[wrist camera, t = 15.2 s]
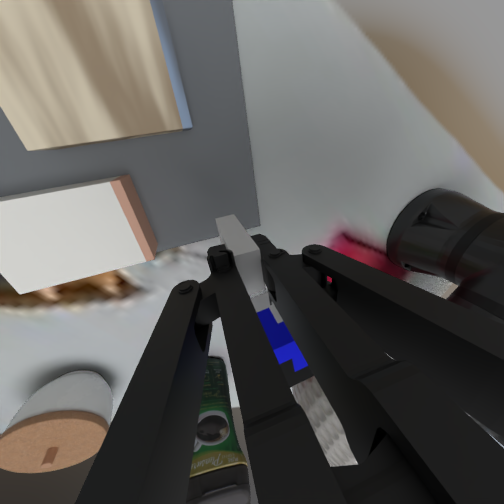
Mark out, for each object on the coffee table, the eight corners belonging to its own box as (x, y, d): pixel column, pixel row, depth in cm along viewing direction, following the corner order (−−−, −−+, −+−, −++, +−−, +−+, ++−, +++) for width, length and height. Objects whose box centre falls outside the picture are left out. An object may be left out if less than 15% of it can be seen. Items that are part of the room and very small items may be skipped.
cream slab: (119, 180, 18) (-56, 211, 15) (154, 259, 21) (19, 294, 19) (129, 174, 21) (-13, 199, 19) (157, 243, 25) (43, 271, 22)
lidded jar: (36, 357, 27) (-23, 445, 19) (128, 359, 32) (111, 431, 24) (29, 409, 30) (-24, 502, 22) (113, 404, 35) (94, 480, 27)
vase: (262, 364, 43) (328, 538, 24) (322, 313, 41) (442, 455, 22) (300, 384, 51) (371, 523, 32) (351, 342, 50) (457, 463, 31)
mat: (230, 0, 18) (231, -3, 18) (259, 224, 28) (260, 225, 28) (-177, 9, 13) (-187, 6, 12) (41, 279, 23) (39, 281, 23)
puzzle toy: (242, 301, 34) (264, 354, 25) (297, 279, 35) (335, 322, 27) (255, 339, 39) (277, 393, 30) (303, 318, 40) (336, 365, 32)
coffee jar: (165, 387, 37) (156, 566, 21) (175, 355, 34) (172, 534, 19) (217, 383, 41) (241, 531, 25) (229, 354, 38) (265, 501, 23)
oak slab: (158, -16, 13) (-74, -14, 11) (192, 127, 17) (27, 150, 15) (162, 17, 17) (-14, 23, 14) (190, 130, 21) (55, 149, 18)
